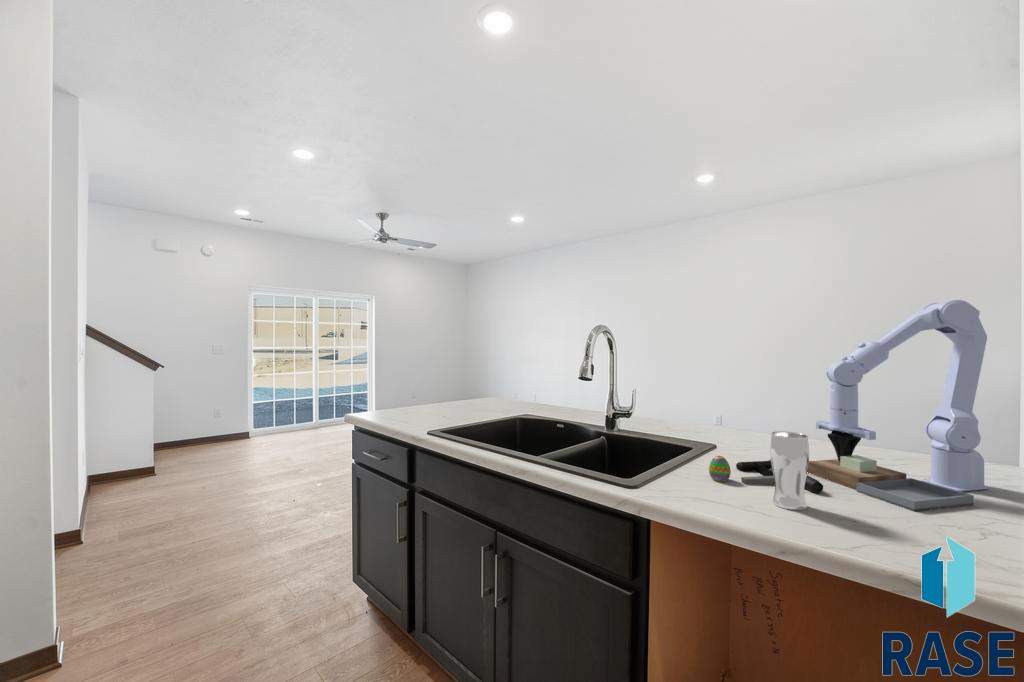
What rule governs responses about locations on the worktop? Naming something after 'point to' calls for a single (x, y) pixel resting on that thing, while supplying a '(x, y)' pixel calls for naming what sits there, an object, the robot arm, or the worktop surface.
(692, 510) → the worktop surface
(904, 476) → the wooden cutting board
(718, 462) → the egg
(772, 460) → the beer glass
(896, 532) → the worktop surface
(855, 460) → the block
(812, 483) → the door handle
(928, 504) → the tray
